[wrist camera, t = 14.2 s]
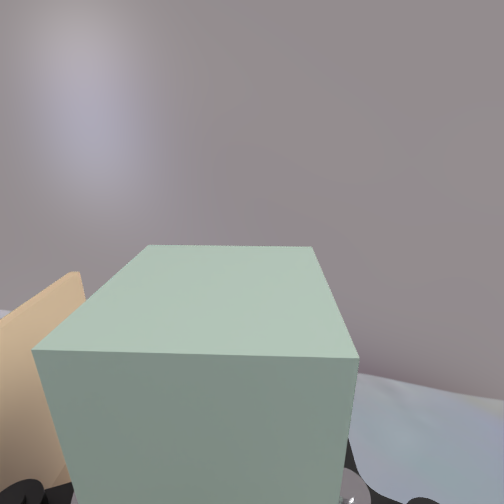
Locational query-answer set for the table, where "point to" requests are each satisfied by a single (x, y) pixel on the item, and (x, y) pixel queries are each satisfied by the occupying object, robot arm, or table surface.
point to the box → (204, 380)
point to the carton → (32, 387)
